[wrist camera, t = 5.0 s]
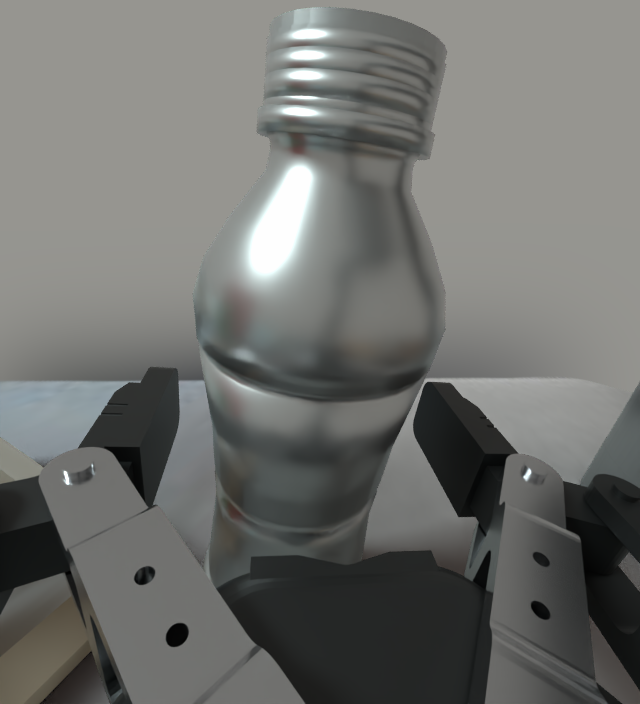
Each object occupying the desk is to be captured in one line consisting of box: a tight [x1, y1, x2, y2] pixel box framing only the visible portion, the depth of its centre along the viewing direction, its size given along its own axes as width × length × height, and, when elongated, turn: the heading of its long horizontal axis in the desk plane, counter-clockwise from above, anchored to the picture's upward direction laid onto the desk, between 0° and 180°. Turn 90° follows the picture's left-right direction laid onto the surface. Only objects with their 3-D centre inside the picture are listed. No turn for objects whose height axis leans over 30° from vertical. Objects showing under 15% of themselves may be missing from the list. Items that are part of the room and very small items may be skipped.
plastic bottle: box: [193, 7, 447, 588], centre depth 12 cm, size 6×7×20 cm
